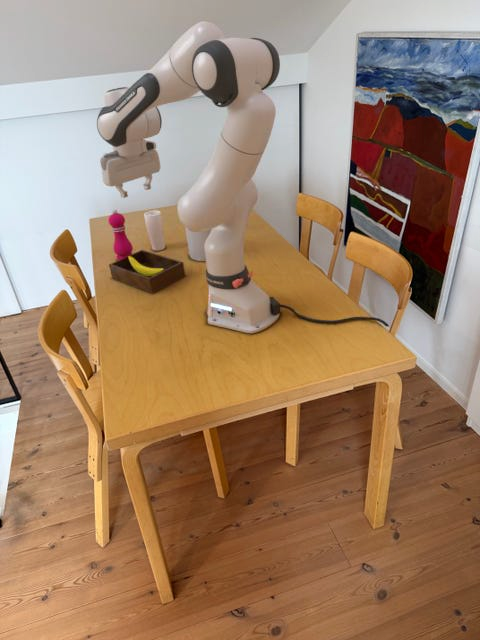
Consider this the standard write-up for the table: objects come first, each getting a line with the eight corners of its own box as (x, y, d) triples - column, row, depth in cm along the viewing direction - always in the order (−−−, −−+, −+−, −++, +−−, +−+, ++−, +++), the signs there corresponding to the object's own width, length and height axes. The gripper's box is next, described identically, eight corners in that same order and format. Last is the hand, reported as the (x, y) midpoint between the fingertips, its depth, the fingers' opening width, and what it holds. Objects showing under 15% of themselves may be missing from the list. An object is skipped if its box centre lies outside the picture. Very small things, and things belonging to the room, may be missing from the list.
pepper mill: (125, 264, 176) (114, 213, 165) (112, 261, 179) (100, 211, 169) (138, 257, 181) (128, 207, 170) (125, 254, 184) (114, 205, 174)
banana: (163, 283, 157) (160, 266, 154) (128, 271, 168) (124, 256, 165) (169, 280, 159) (166, 263, 156) (134, 268, 170) (130, 253, 167)
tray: (185, 276, 162) (183, 261, 159) (152, 293, 153) (149, 279, 150) (144, 262, 175) (142, 249, 172) (112, 278, 166) (108, 264, 163)
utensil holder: (229, 246, 183) (224, 203, 173) (223, 261, 170) (219, 216, 161) (193, 247, 185) (187, 205, 176) (185, 262, 172) (178, 218, 163)
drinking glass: (163, 252, 183) (157, 215, 175) (148, 252, 184) (140, 216, 176) (169, 245, 188) (163, 210, 181) (154, 245, 190) (147, 210, 182)
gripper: (105, 156, 129) (115, 203, 137) (159, 141, 142) (166, 186, 149) (92, 154, 133) (103, 200, 140) (146, 140, 146) (153, 183, 153)
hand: (136, 193), depth 145 cm, fingers open, 8 cm apart
